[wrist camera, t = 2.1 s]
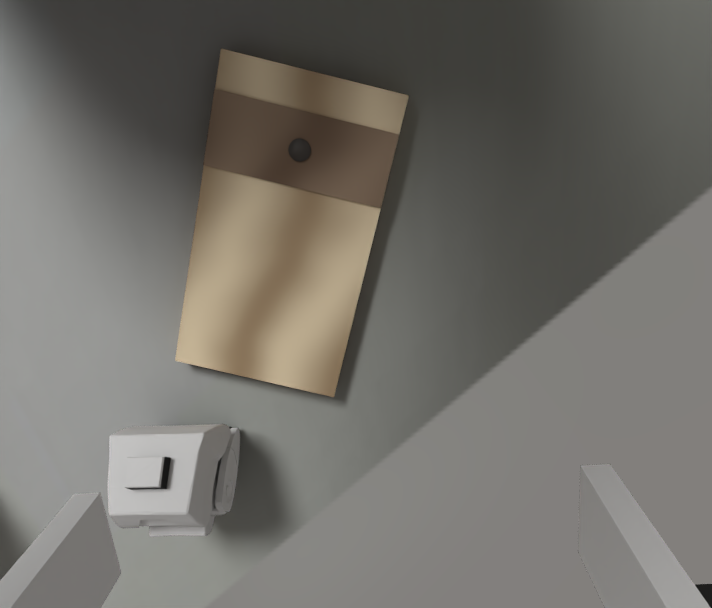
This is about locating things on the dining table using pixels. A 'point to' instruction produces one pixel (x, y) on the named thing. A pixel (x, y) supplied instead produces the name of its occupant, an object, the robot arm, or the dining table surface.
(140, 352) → the dining table surface
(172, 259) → the dining table surface
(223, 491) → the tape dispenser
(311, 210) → the plywood panel
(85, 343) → the dining table surface
